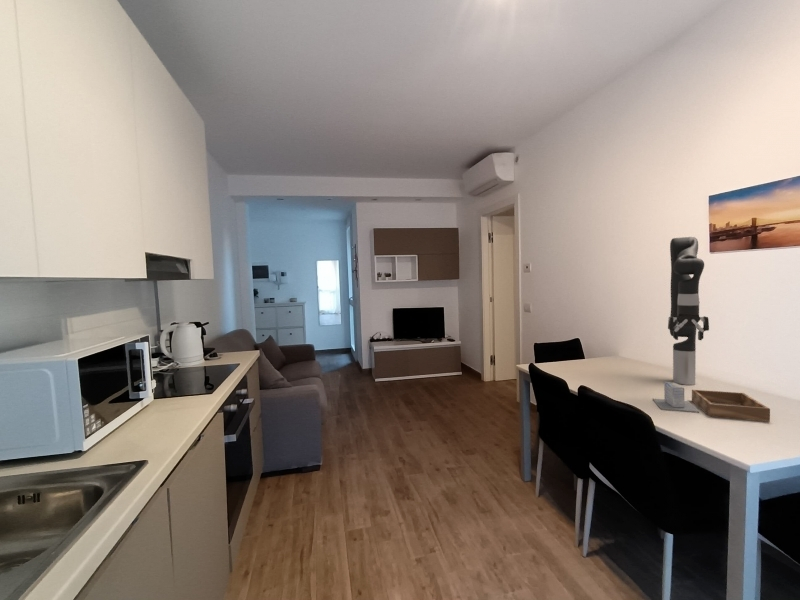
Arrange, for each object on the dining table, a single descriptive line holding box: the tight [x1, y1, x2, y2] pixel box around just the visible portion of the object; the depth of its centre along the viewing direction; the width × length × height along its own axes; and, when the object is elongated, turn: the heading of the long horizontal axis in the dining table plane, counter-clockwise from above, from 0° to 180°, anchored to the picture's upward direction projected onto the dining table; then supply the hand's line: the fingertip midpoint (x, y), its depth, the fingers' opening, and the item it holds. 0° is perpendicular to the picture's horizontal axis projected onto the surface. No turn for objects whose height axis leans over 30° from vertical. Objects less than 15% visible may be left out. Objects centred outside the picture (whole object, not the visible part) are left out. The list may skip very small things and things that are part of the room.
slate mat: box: [652, 398, 700, 414], centre depth 156 cm, size 13×13×1 cm
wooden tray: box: [691, 389, 771, 423], centre depth 149 cm, size 20×18×5 cm
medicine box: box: [663, 381, 686, 408], centre depth 156 cm, size 8×4×9 cm, turn 166°
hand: (687, 339), depth 161 cm, fingers open, 8 cm apart
